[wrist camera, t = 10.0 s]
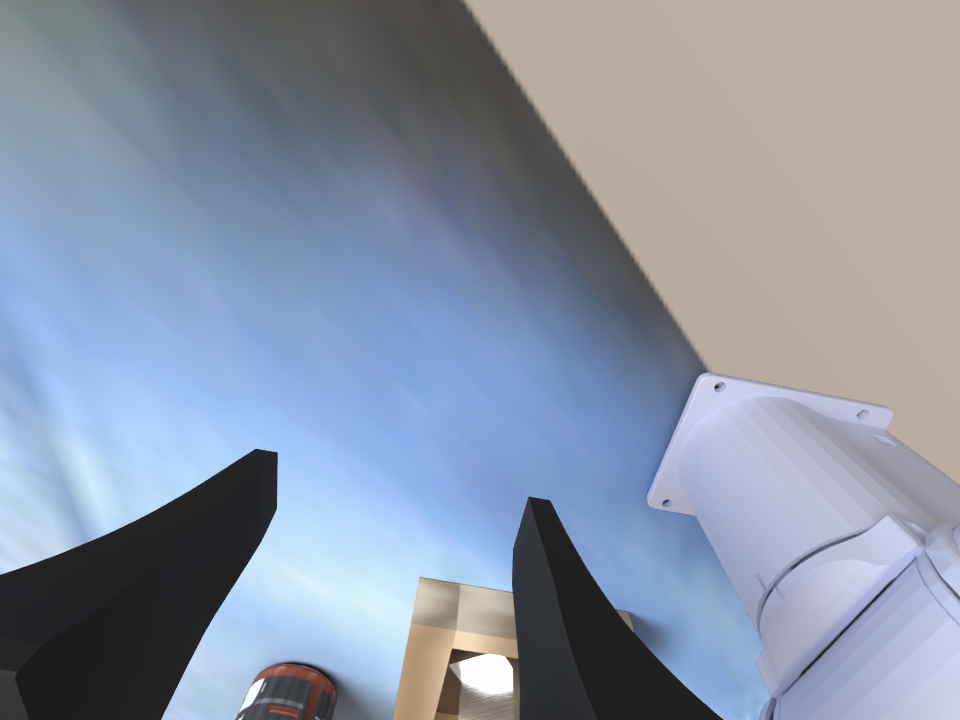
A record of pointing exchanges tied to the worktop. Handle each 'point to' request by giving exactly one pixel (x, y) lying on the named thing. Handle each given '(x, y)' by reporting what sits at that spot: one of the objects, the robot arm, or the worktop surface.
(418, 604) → the well block
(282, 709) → the supplement bottle
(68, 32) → the worktop surface
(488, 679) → the stepped metal bar
